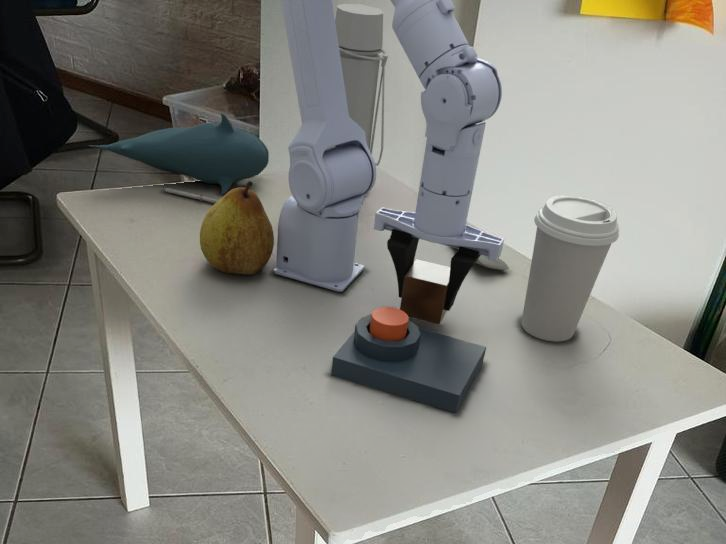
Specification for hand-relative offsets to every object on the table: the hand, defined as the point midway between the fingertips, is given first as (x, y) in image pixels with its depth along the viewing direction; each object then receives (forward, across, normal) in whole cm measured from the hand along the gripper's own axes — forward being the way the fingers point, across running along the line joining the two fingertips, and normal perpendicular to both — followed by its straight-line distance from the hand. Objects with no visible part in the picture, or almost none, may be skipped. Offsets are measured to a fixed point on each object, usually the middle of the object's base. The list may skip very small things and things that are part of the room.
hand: (426, 300), depth 97 cm
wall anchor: (+3, +41, -16) cm, 44 cm away
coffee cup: (+3, -14, -7) cm, 16 cm away
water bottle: (+3, +23, -33) cm, 40 cm away
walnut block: (+1, 0, 0) cm, 1 cm away
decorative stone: (+3, -2, -23) cm, 23 cm away
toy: (-3, +41, -17) cm, 45 cm away
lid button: (-1, +1, +11) cm, 11 cm away
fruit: (+3, +25, 0) cm, 25 cm away
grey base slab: (+3, -2, +11) cm, 12 cm away
